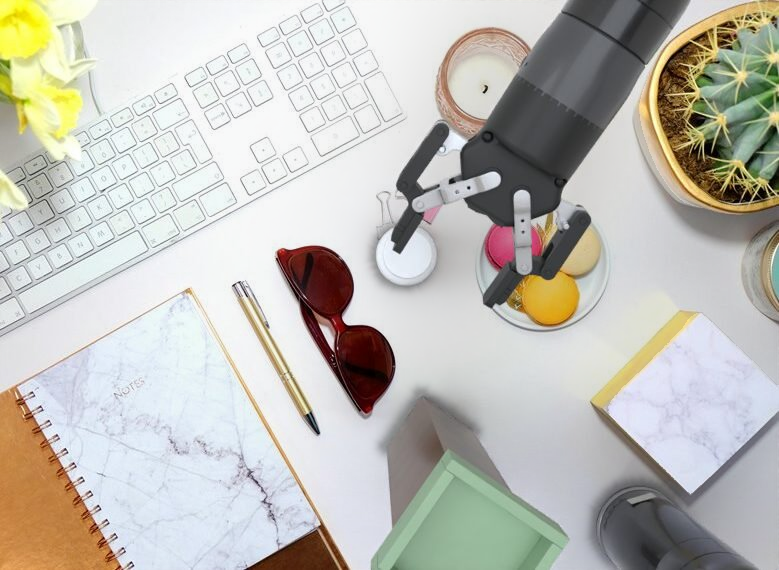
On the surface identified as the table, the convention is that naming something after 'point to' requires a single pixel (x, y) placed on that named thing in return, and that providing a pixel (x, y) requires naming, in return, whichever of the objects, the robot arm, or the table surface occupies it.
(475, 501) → the tray
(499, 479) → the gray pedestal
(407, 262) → the pill bottle
